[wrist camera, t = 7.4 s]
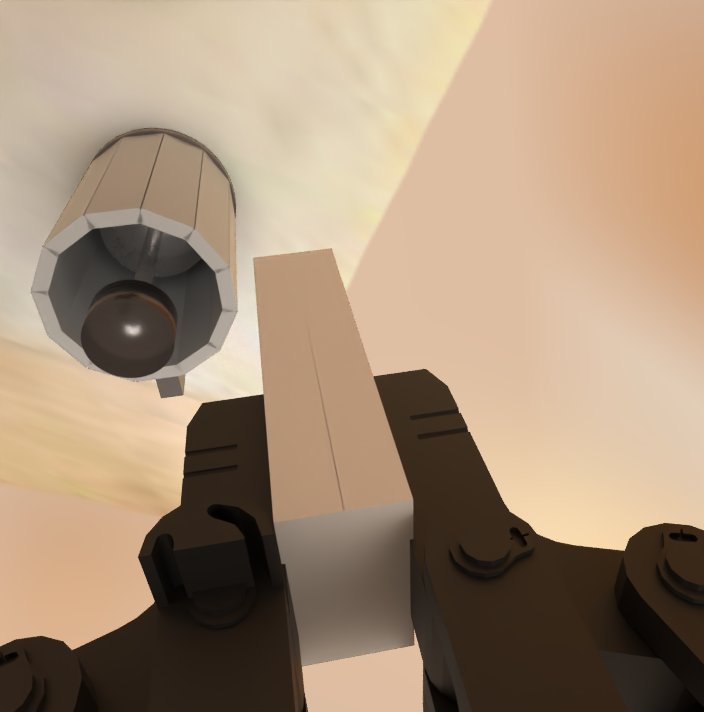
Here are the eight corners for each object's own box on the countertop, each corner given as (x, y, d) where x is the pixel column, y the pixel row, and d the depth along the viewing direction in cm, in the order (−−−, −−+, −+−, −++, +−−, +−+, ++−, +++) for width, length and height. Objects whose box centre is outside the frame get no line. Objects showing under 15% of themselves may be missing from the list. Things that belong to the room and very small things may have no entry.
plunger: (87, 179, 42) (27, 285, 29) (199, 167, 42) (187, 266, 30) (117, 278, 46) (75, 409, 33) (218, 265, 46) (214, 389, 34)
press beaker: (64, 136, 44) (-2, 219, 31) (222, 120, 45) (220, 194, 32) (116, 305, 51) (79, 428, 39) (250, 288, 53) (257, 402, 40)
